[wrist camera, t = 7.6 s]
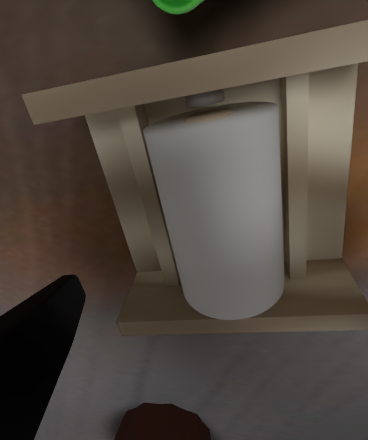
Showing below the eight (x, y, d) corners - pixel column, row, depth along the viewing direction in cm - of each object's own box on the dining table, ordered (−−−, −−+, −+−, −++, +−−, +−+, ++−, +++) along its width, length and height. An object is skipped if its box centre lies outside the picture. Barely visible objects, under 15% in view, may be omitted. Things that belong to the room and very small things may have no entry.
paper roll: (276, 249, 16) (294, 319, 12) (189, 256, 17) (176, 323, 13) (268, 93, 13) (291, 114, 8) (157, 114, 14) (125, 141, 9)
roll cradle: (334, 259, 18) (370, 329, 13) (145, 272, 20) (122, 335, 15) (349, 25, 12) (424, 7, 7) (85, 82, 14) (21, 94, 10)
